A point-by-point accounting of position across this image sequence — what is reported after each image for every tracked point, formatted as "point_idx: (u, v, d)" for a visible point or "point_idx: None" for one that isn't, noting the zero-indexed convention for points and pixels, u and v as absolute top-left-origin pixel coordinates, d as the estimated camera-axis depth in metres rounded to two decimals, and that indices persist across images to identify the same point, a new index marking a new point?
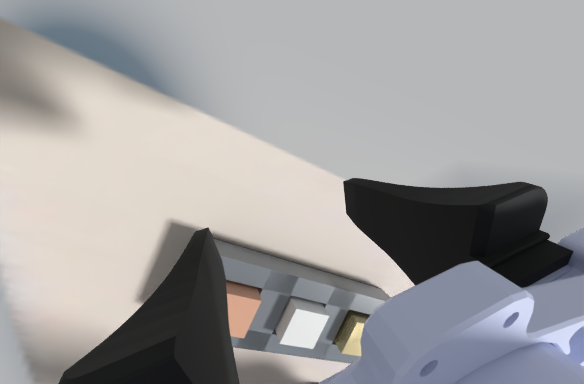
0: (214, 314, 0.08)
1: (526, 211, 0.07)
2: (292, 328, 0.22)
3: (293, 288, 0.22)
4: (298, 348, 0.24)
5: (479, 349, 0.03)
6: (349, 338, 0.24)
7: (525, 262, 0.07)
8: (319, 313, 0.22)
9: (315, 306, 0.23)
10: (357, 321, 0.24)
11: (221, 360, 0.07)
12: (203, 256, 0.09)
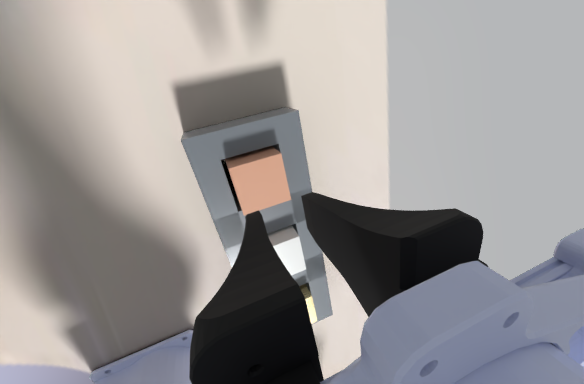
0: None
1: (458, 243, 0.06)
2: (277, 250, 0.19)
3: (303, 220, 0.21)
4: None
5: (479, 349, 0.03)
6: None
7: None
8: (303, 259, 0.21)
9: None
10: (311, 296, 0.23)
11: None
12: None
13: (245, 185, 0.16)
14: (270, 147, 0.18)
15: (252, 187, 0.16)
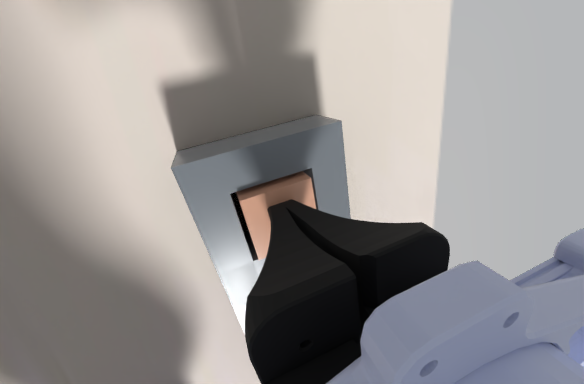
0: None
1: (422, 259, 0.06)
2: None
3: None
4: None
5: (479, 349, 0.03)
6: None
7: None
8: None
9: None
10: None
11: None
12: None
13: (261, 221, 0.12)
14: None
15: None
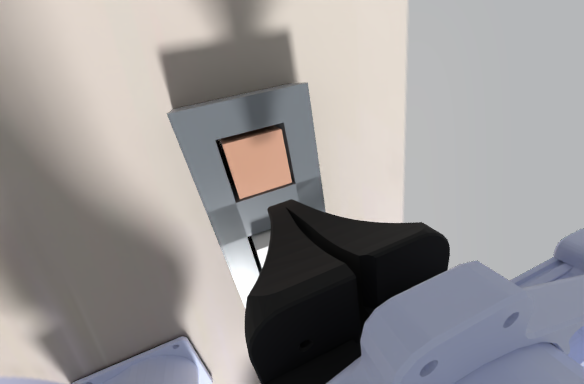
0: None
1: (422, 259, 0.06)
2: None
3: None
4: (245, 278, 0.18)
5: (479, 349, 0.03)
6: None
7: None
8: None
9: None
10: None
11: None
12: None
13: (241, 164, 0.15)
14: None
15: (249, 166, 0.15)
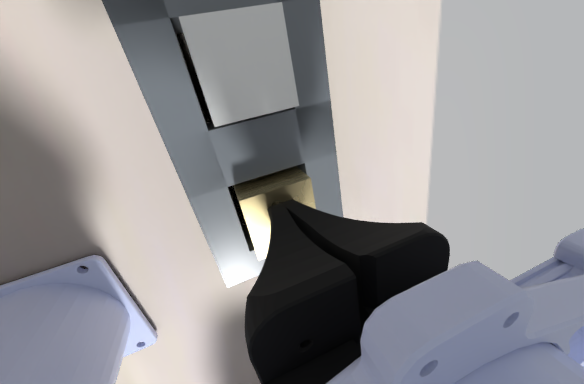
0: None
1: (422, 259, 0.06)
2: (232, 29, 0.08)
3: (293, 0, 0.10)
4: (177, 120, 0.10)
5: (479, 349, 0.03)
6: (275, 192, 0.11)
7: None
8: (293, 78, 0.10)
9: None
10: (310, 178, 0.12)
11: None
12: None
13: None
14: None
15: None
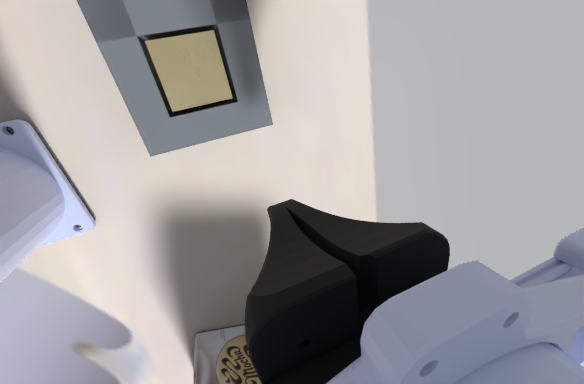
0: None
1: (422, 259, 0.06)
2: None
3: None
4: None
5: (479, 349, 0.03)
6: (179, 38, 0.13)
7: None
8: None
9: None
10: None
11: None
12: None
13: None
14: None
15: None
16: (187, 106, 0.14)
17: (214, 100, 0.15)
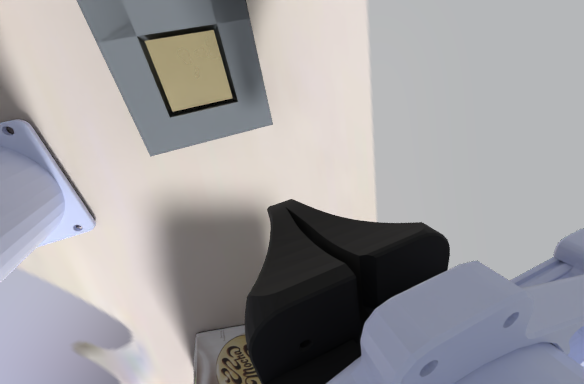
0: None
1: (422, 259, 0.06)
2: None
3: None
4: None
5: (479, 349, 0.03)
6: (179, 38, 0.13)
7: None
8: None
9: None
10: None
11: None
12: None
13: None
14: None
15: None
16: (187, 106, 0.14)
17: (214, 100, 0.15)
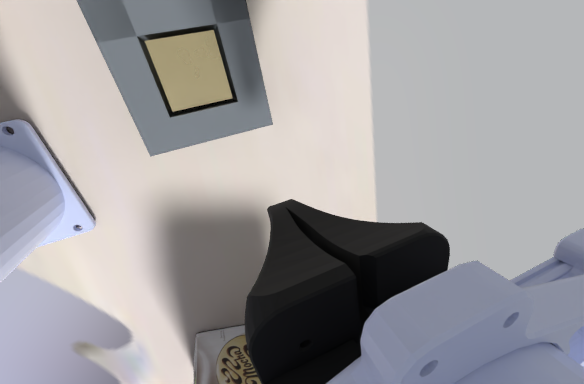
0: None
1: (422, 259, 0.06)
2: None
3: None
4: None
5: (479, 349, 0.03)
6: (179, 38, 0.13)
7: None
8: None
9: None
10: None
11: None
12: None
13: None
14: None
15: None
16: (187, 106, 0.14)
17: (214, 100, 0.15)
